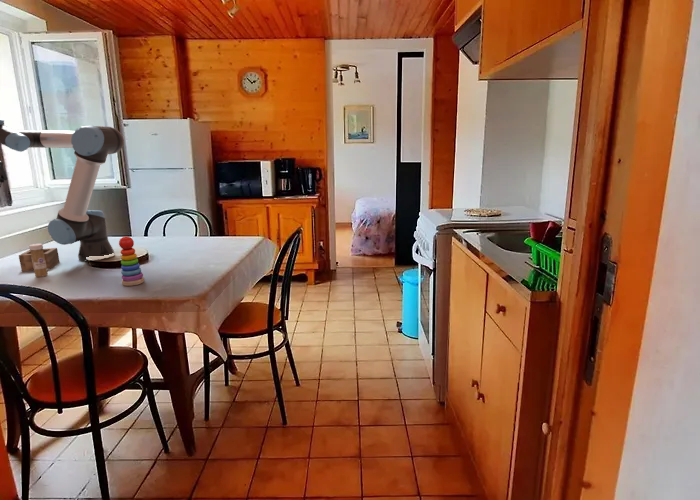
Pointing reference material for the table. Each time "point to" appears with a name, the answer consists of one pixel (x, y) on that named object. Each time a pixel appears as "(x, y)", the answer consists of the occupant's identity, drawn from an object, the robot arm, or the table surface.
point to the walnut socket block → (49, 255)
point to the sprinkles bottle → (38, 260)
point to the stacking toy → (130, 263)
